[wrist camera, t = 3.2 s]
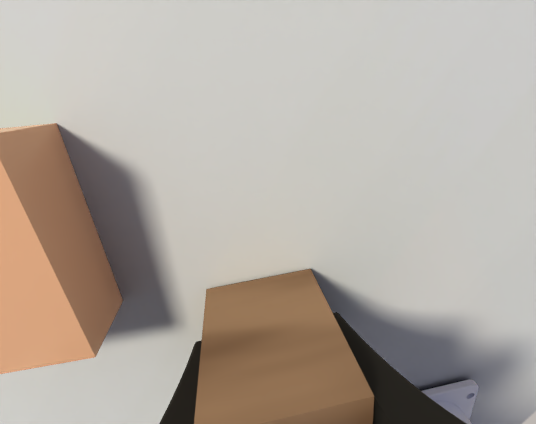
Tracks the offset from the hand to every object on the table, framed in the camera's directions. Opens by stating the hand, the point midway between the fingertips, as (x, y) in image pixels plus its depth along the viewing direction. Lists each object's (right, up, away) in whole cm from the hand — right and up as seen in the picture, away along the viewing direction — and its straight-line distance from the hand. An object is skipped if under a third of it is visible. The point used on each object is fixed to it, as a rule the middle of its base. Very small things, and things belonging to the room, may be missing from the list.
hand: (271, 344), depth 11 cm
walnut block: (0, +1, +1) cm, 1 cm away
